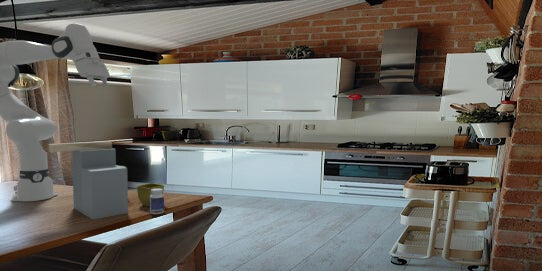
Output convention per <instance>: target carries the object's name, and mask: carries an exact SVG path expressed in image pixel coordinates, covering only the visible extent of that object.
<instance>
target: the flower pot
mask: <svg viewBox="0 0 542 271" xmlns="http://www.w3.org/2000/svg"><path fill="white" fill-rule="evenodd" d="M158 188H159V189H163V192H162V194H163V195H164V190H165V185H164V184H161V183H160V184H159V183H152V182H150V183H144V184H141V185H137V186H136V190H137V196H138V200H139V202H140V203H141V205H142V206H147V207H150V195H151V194H152V193H151V190H152V189H158Z"/></svg>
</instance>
